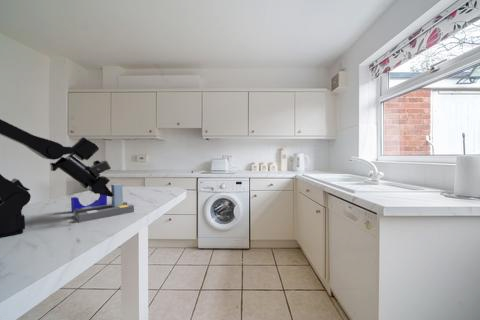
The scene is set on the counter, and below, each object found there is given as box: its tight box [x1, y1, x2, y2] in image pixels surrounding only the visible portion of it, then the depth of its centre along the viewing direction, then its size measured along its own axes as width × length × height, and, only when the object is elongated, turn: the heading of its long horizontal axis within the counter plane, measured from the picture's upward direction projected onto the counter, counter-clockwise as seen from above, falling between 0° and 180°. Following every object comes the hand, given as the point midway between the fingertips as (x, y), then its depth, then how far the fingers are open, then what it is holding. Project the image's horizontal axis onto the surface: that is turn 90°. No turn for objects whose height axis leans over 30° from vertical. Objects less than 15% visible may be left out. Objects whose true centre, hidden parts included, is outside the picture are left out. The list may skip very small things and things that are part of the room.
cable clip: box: [70, 194, 108, 214], centre depth 93 cm, size 12×4×6 cm, turn 144°
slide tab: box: [110, 183, 124, 208], centre depth 88 cm, size 3×4×10 cm
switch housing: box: [73, 201, 135, 223], centre depth 85 cm, size 18×10×3 cm, turn 136°
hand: (112, 195), depth 87 cm, fingers closed, pressing on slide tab
